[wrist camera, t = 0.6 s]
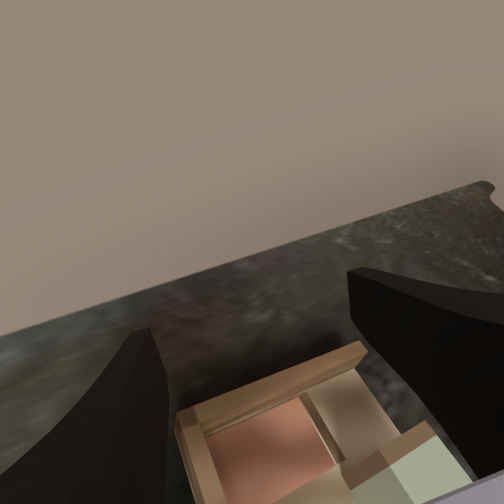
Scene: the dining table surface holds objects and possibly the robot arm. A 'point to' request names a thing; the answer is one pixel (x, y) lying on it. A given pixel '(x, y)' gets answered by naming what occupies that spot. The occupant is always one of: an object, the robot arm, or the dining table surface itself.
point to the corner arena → (285, 435)
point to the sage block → (407, 470)
